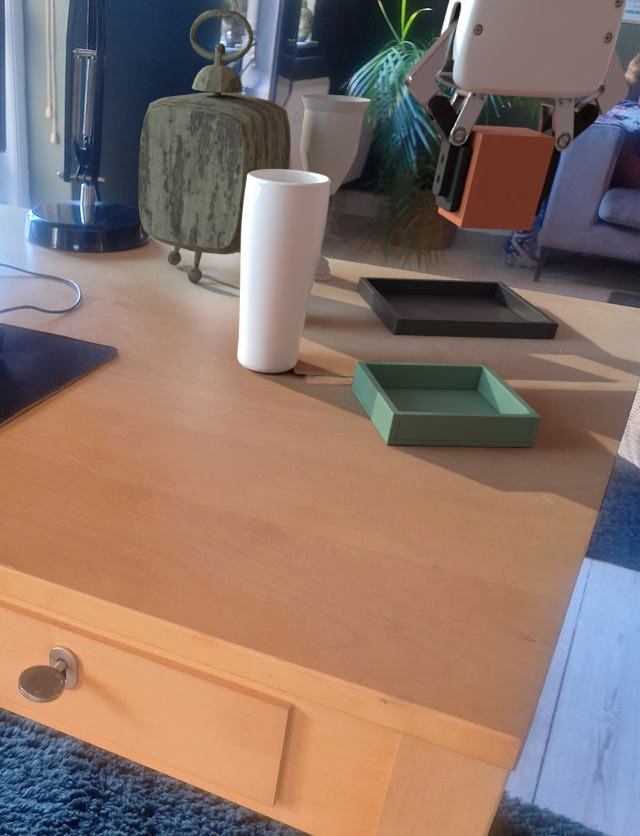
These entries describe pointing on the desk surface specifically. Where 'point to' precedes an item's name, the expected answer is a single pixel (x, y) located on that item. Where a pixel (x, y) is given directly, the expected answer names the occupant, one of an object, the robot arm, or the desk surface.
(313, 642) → the desk surface
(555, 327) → the pan
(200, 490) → the desk surface
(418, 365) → the tray
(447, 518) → the desk surface
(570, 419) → the desk surface
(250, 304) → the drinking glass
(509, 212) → the block
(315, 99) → the chalice
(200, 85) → the tabletop clock
